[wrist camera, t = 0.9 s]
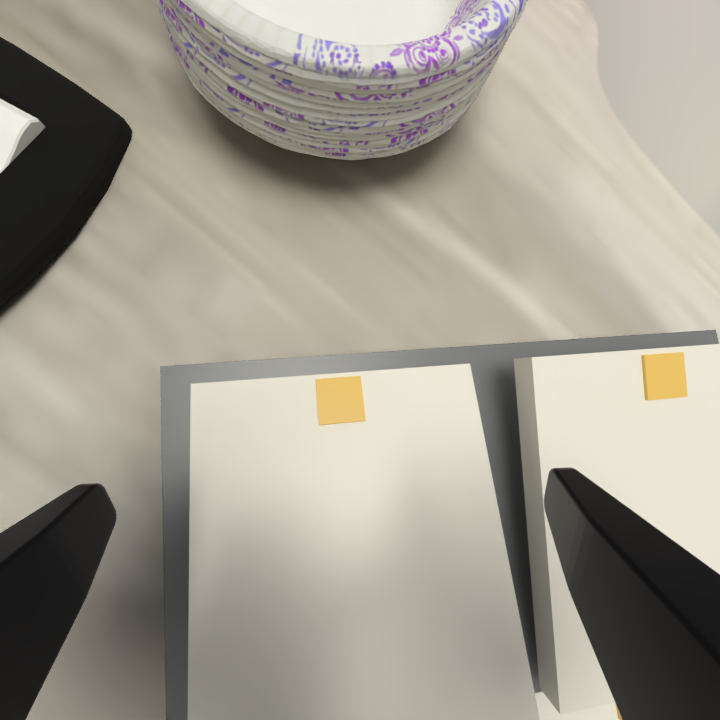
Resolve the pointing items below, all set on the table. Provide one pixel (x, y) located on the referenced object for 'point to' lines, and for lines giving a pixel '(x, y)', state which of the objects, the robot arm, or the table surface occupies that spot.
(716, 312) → the table surface
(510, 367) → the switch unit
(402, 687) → the rocker left
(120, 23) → the table surface
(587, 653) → the rocker right
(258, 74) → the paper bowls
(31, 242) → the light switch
